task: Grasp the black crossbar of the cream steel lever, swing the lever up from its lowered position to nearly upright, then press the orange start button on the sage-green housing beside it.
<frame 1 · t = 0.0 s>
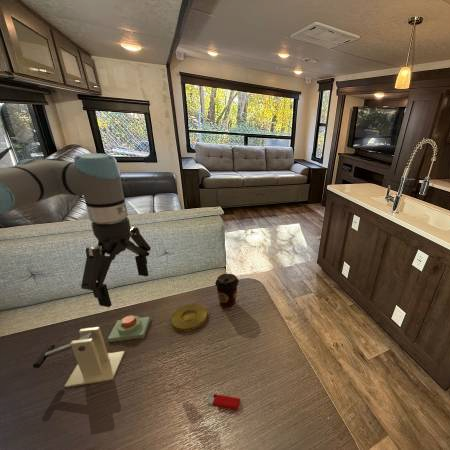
hand: (126, 289, 69), 24 cm above the table, tool pointing down, fingers open, 13 cm apart
lighter: (224, 403, 66), on the table
bracket: (97, 370, 71), on the table
button: (128, 321, 82), point 5 cm above the table, slide at 0.1 cm
olive yellow disc: (189, 320, 91), on the table
coffee cup: (227, 304, 100), on the table
button box: (131, 331, 84), on the table
lever: (67, 347, 66), point 10 cm above the table, hinge at -20.0°
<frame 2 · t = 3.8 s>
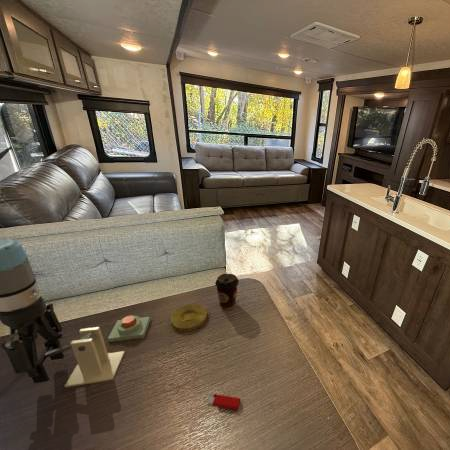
hand: (50, 368, 67), 3 cm above the table, tool pointing down, fingers closed on lever, 6 cm apart
lever: (67, 347, 66), point 10 cm above the table, hinge at -20.0°, touching gripper
everything else where it was.
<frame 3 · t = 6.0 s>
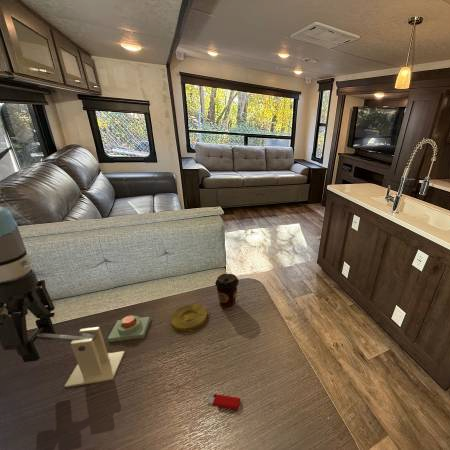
hand: (41, 348, 64), 11 cm above the table, tool pointing down, fingers closed on lever, 6 cm apart
lever: (63, 337, 64), point 14 cm above the table, hinge at 18.6°, touching gripper
everything else where it was.
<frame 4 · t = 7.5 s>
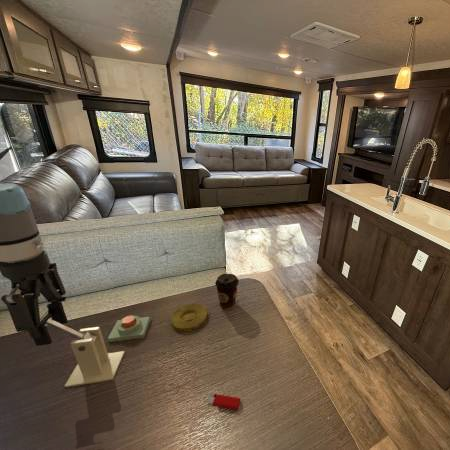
hand: (53, 332, 63), 16 cm above the table, tool pointing down, fingers closed on lever, 6 cm apart
lever: (67, 330, 64), point 16 cm above the table, hinge at 48.4°, touching gripper
everything else where it was.
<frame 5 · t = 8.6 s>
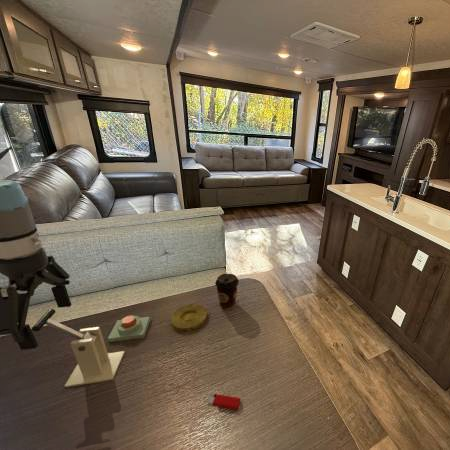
hand: (49, 325, 62), 18 cm above the table, tool pointing down, fingers open, 13 cm apart
lever: (67, 330, 64), point 16 cm above the table, hinge at 48.7°
everything else where it was.
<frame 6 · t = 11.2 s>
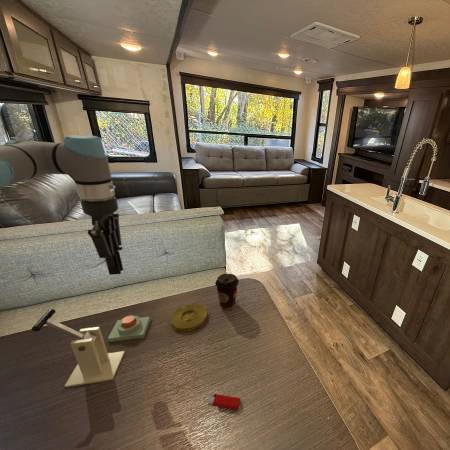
hand: (116, 271, 74), 24 cm above the table, tool pointing down, fingers closed
nothing on the table moved.
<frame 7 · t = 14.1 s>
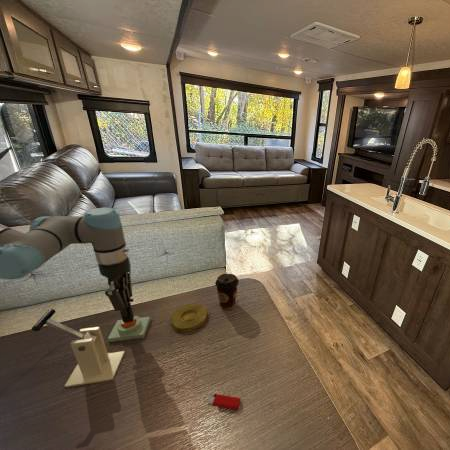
hand: (128, 320, 82), 5 cm above the table, tool pointing down, fingers closed
button: (129, 323, 82), point 4 cm above the table, slide at -0.6 cm, touching gripper
everything else where it was.
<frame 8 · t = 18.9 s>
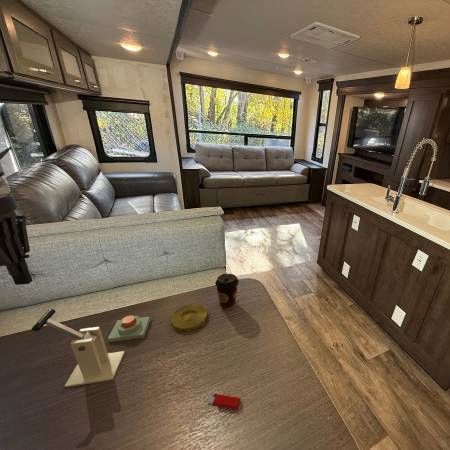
hand: (24, 282, 64), 26 cm above the table, tool pointing down, fingers closed
button: (128, 321, 82), point 5 cm above the table, slide at 0.1 cm
everything else where it was.
at the end: lever at +49° (first picture: -20°); button pushed in 1.0 cm at the most during the clip, back to where it started at the end; button slide at 0.1 cm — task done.
